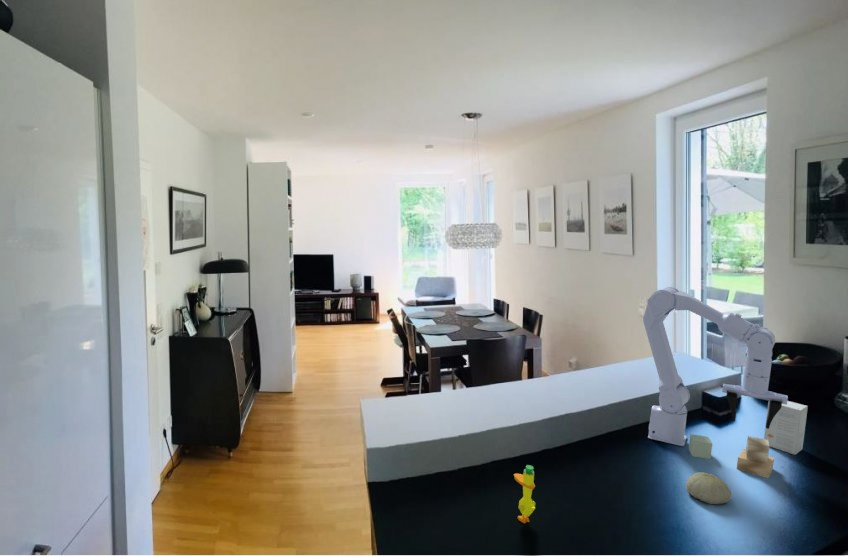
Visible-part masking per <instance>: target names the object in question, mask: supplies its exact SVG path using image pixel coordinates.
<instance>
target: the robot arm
mask: <svg viewBox="0 0 848 556" xmlns="http://www.w3.org/2000/svg"><path fill="white" fill-rule="evenodd" d="M646 302H647V304H646V308H645V311H644V314H643V317H642V318H643V319H642V320H643V321H642V322H643V325H644V328H645V332H646V337H647V340H648V342H649V347H650V349H651V353H652V357H653V361H654V364H655V367H656V371H657V374H658V378H659V381H658V390H659V391H658V392H659V396H658V402H659V405H655V404H654V405H652V407H651V409H650V411H651V412H650V417H649V424H648V436H647V438H648V439H650V440H655V441H660V442H664V443H667V444H671V445H676V446H679V447H685V444H686V440H687V435H685V432H686V426H687V425H686V424H687V416H688V409H687V407H686V404H687V403H688V402H689V400H690V398H691V394H690V391H689V389H688V388H687V386H686V385H685V384H684V382H683V381H684V380H683V379H682V377H681V375H679V373H678V370H677V366H676V362H675V360H674V356H673V352H672V348H671V345H670V342H669V339H668V334H667V331H666V327H665V323H664V321H665V320H666V318H667V317H668V316H669V315H670V313H671V312H673V310H675V311H689V312H692V313H693V314H696V315H698V316H699V317H702V318H703V319H706V320H707V321H710V322H712V323H714V324H716V325H717V327H718V331H720V333H723V334H725V335H726V336H728V337H730V338H733V339H734V340H736V341H738V342H739V343H742V344H746V346H747V354H746V356H745V361H744V362H745V363H744V370H743V378H742V385H737V384H736V385H735V384H727V383H722V390H721V392H722V393H725V394H726V399H727V402H728V404H729V408H730V411H731V412H730V413H731V421H732V422H735V421H736V414H737V413H736V411H737V402H738V395H740V396H744V397H748V398H755V399H758V400H759V399H760V400H764V401H768V402H769V401H770V402H769V411H768V416H767V415H766V418H767V420H766V421H765V426H766V428H767V429H769V427H770V424H771V422H772V420H773V418H774V416H775V415H776V414H777V412H778V411H779V410H780V409H781V407H782V404H786V405H787V401H789V400H788V399H789V397H788V396H789V395H787V394H782V393H777V392H774V391H771V390H770V391H769V384H770V379H771V368H772V364H773V362H772V361H773V359H772V357H773V348H774V346H775V344H776V336H775V334H774V333H773V331H771V330H769V329H768V328H767V327H762V326H760V324H758V323H755V324H754V323H753V322H750V321H748V320H747V319H744V318H743V317H742V315H741V314H740V313H736V314H735V313H732V312H728V313H723V312H720V311H719V310H718V309H715V308H714V307H712V306H710V305H709V304H707V303H705V302H704V301H702V300H700V299H697V298H696V297H694V296H692V295H690V293H687V292H685V291H683V290H679V289H677V288H676V287H672V286H669V287H668V286H667V287H664V288H663V289H658V290H656V291H654V292H653V293H652V294H651V295H650V296H649V298H648V299H647V301H646Z"/></svg>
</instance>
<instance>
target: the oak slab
mask: <svg viewBox="0 0 848 556" xmlns="http://www.w3.org/2000/svg"><path fill="white" fill-rule="evenodd" d="M774 463H775V457H773V456H770V455H768V462H767V463H764V462H759V461H755V460H750V459H747V458H746V448H743V449H742V450H741V452H740V453H739V455H738V456H737V463H736V470H738V471H739V470H740V471H742V470H743V471H742V472H746V473H749V474H752V475H756V476H760V477H762V478H765V477H766V478H765V479H769V478H770V476H771V474H772V472H773V469H774Z"/></svg>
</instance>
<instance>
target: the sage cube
mask: <svg viewBox="0 0 848 556" xmlns="http://www.w3.org/2000/svg"><path fill="white" fill-rule="evenodd" d="M688 443H689V444H688V451H689V453H690V455H691V457H695V458H700V459H708V460H710V459H712V451H713V450H712V449H713V442H712V441H711V439H710V437H709V436H705V435H701V434H700V435H698V434H691V433H690V434H689V442H688Z"/></svg>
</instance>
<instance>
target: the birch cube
mask: <svg viewBox="0 0 848 556" xmlns="http://www.w3.org/2000/svg"><path fill="white" fill-rule="evenodd" d="M746 438H747V439H746V447H745V449H746V458H747V459H750V460H755V461H759V462H764V463H767V462H768V456H769V451H770V447H769V442H768V440H766V439H764V438H761V437H755V436H750V435H747V437H746Z"/></svg>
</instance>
